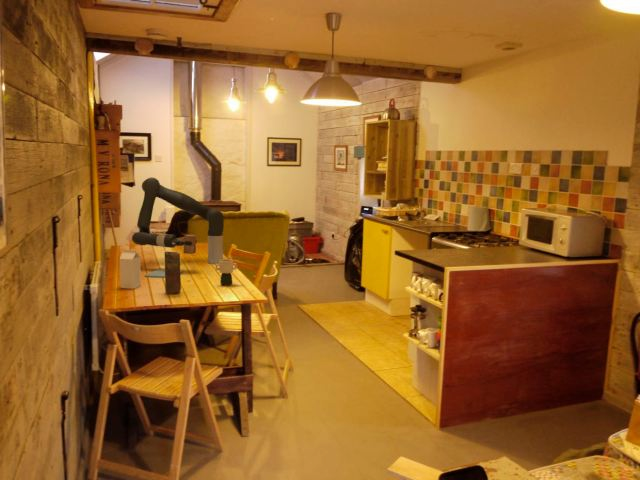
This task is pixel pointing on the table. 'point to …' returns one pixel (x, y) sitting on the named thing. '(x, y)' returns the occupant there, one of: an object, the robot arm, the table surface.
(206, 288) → the table surface
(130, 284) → the milk carton
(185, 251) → the walnut block
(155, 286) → the table surface
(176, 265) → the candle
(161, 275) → the slate-blue mat
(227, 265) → the character mug
